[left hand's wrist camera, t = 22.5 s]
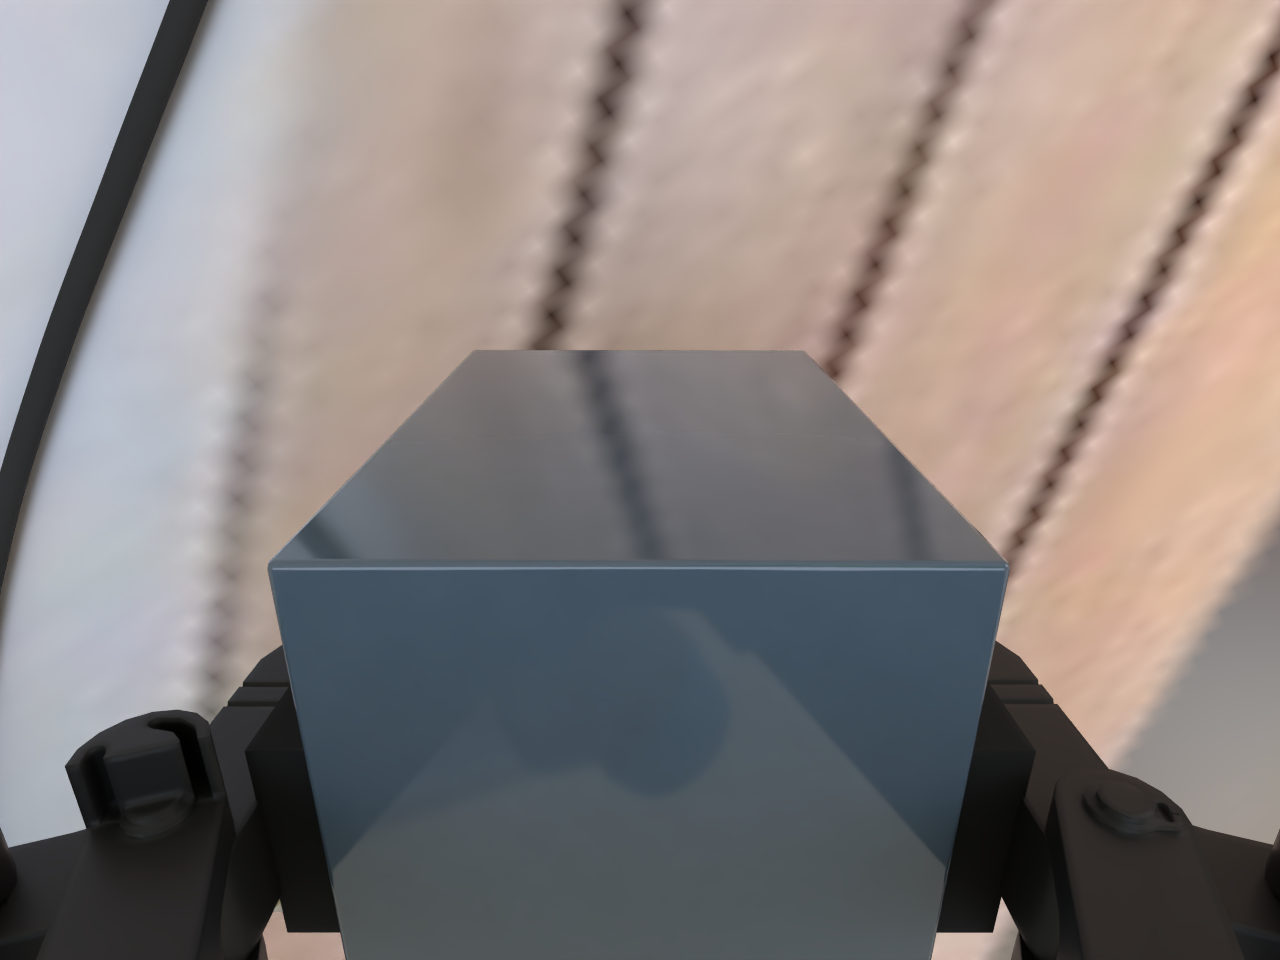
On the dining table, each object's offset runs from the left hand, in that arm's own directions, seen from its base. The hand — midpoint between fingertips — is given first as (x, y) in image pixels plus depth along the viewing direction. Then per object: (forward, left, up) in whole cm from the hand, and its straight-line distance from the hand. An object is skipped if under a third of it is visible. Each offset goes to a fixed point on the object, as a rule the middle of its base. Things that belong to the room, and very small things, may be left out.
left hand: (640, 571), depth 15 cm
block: (0, 0, -3) cm, 3 cm away
